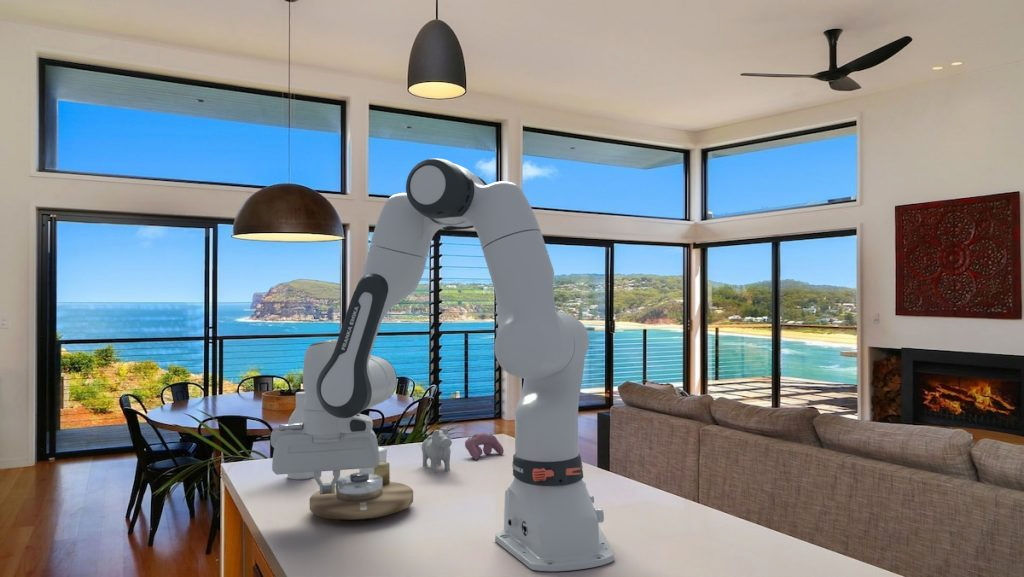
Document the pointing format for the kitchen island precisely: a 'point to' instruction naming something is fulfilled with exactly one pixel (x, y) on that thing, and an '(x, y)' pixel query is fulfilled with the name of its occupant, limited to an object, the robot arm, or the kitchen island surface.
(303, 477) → the bath foam
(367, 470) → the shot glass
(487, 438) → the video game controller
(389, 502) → the turntable
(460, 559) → the kitchen island surface
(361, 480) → the cover
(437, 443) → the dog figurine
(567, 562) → the robot arm
